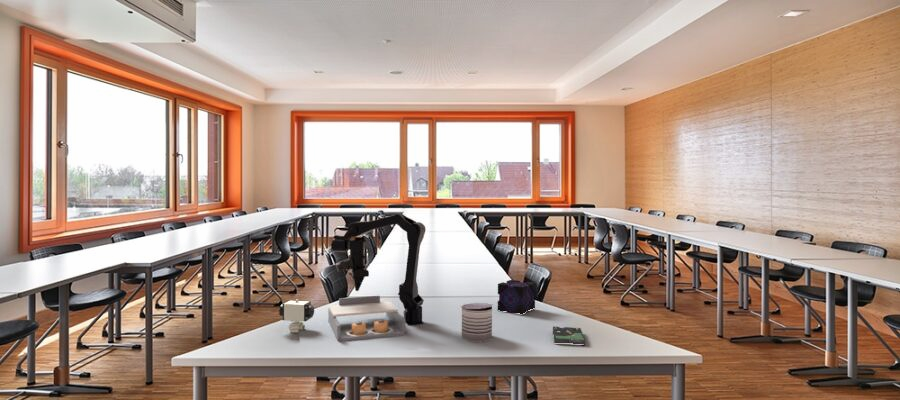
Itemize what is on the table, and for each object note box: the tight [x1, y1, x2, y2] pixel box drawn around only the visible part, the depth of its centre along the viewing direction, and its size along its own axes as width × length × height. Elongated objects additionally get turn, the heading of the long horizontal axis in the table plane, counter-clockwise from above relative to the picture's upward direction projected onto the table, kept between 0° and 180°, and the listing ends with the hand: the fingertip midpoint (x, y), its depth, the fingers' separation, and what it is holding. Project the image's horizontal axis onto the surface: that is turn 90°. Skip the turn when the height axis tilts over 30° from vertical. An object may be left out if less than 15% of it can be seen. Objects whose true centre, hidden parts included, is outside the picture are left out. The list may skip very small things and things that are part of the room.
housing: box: [327, 307, 406, 342], centre depth 185 cm, size 24×27×6 cm
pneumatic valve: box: [278, 298, 315, 334], centre depth 183 cm, size 6×12×12 cm, turn 83°
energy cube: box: [497, 279, 536, 314], centre depth 217 cm, size 12×12×12 cm
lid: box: [328, 295, 399, 318], centre depth 190 cm, size 24×14×3 cm, turn 110°
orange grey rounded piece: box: [374, 318, 389, 333], centre depth 179 cm, size 5×5×5 cm
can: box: [460, 302, 494, 343], centre depth 178 cm, size 11×11×12 cm
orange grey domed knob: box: [351, 320, 367, 335], centre depth 176 cm, size 5×5×5 cm
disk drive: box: [552, 326, 586, 344], centre depth 177 cm, size 10×3×15 cm
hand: (357, 290), depth 202 cm, fingers closed
